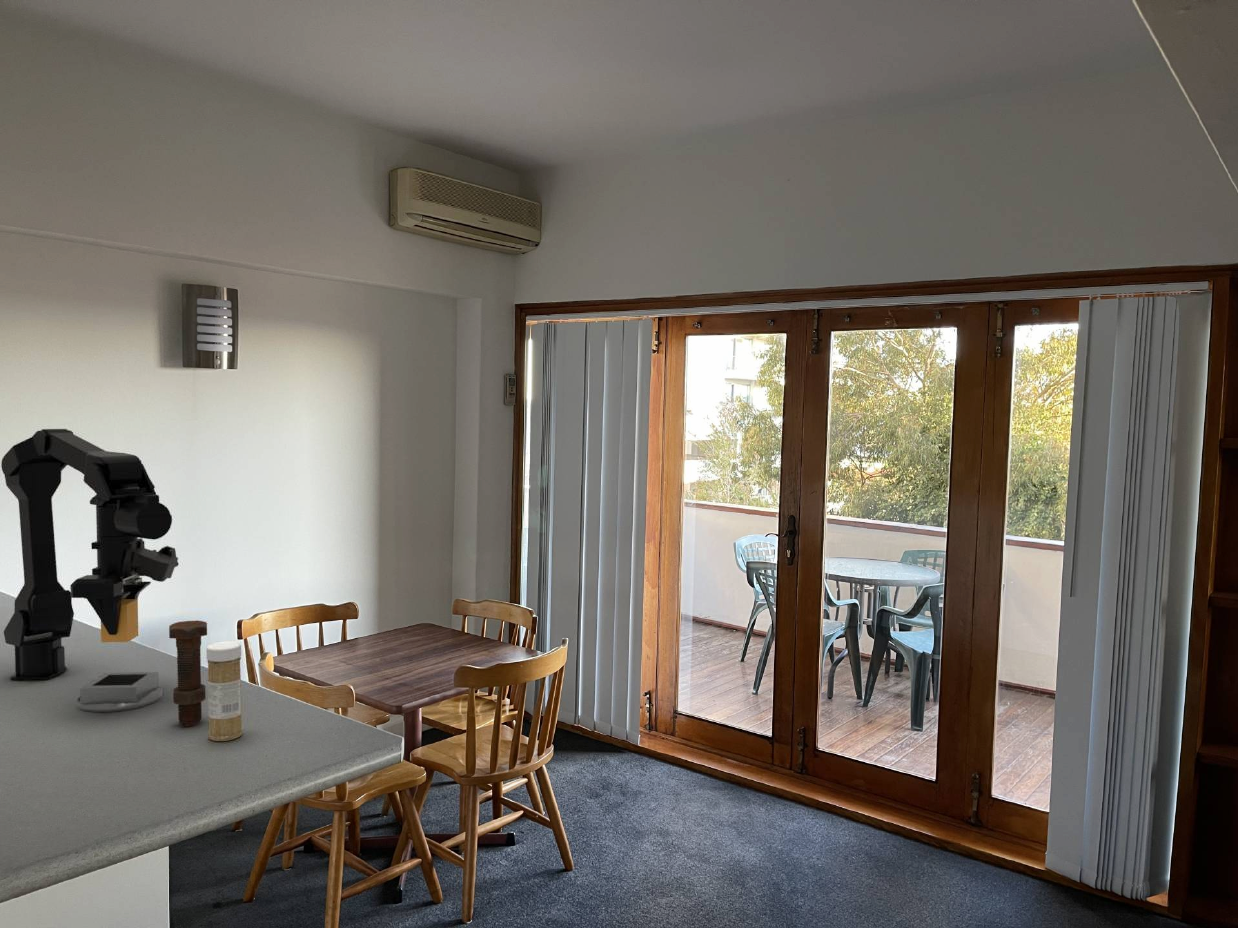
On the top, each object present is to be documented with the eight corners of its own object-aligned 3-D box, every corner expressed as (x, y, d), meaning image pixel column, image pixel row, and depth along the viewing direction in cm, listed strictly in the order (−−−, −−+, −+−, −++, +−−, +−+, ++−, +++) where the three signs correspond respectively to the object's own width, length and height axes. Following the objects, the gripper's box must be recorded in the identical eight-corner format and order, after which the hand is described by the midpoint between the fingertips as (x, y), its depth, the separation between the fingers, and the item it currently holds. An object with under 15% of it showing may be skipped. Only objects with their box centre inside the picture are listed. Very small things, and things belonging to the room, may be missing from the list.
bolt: (217, 718, 140) (216, 620, 139) (199, 730, 135) (197, 628, 134) (181, 717, 141) (179, 619, 140) (161, 728, 136) (159, 627, 135)
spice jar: (241, 729, 136) (240, 638, 135) (243, 739, 131) (242, 646, 131) (207, 733, 134) (205, 642, 133) (208, 744, 129) (206, 649, 129)
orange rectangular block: (101, 642, 146) (100, 604, 145) (112, 635, 150) (111, 599, 149) (127, 641, 146) (126, 604, 146) (138, 635, 150) (137, 599, 150)
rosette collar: (62, 712, 142) (61, 691, 142) (99, 689, 154) (98, 669, 154) (144, 711, 143) (143, 690, 143) (174, 688, 155) (173, 668, 155)
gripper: (145, 542, 138) (147, 645, 139) (191, 526, 157) (193, 617, 158) (67, 542, 137) (70, 646, 138) (122, 526, 156) (124, 618, 157)
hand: (119, 631), depth 148 cm, fingers closed on orange rectangular block, 4 cm apart
